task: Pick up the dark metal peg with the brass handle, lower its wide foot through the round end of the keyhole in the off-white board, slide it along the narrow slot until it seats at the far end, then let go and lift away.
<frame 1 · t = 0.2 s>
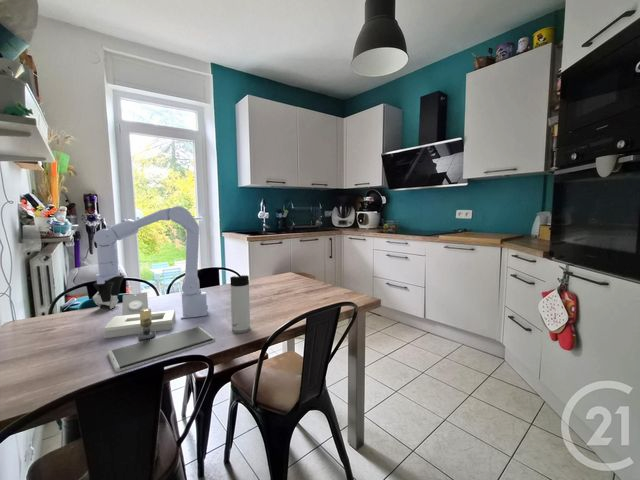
hand: (110, 298, 105), 10 cm above the table, tool pointing down, fingers open, 7 cm apart
peg: (147, 337, 95), on the table
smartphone: (164, 349, 89), on the table
travel mug: (241, 330, 102), on the table
light switch: (136, 316, 115), on the table
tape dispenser: (107, 308, 124), on the table
keyhole board: (143, 327, 104), on the table
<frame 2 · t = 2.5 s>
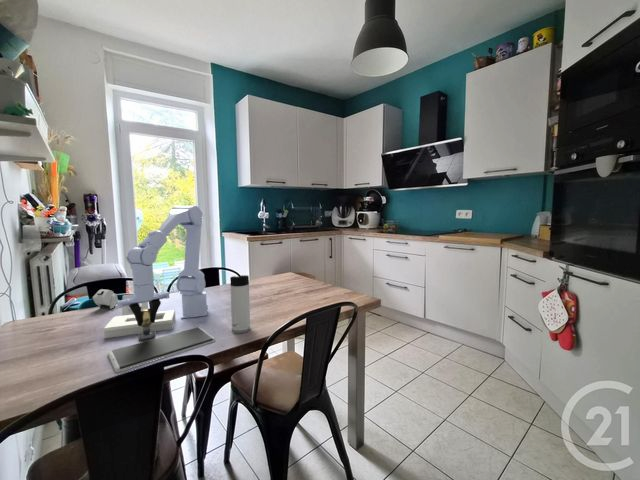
hand: (146, 323, 95), 5 cm above the table, tool pointing down, fingers closed on peg, 3 cm apart
peg: (147, 337, 95), on the table, touching gripper
everything else where it was.
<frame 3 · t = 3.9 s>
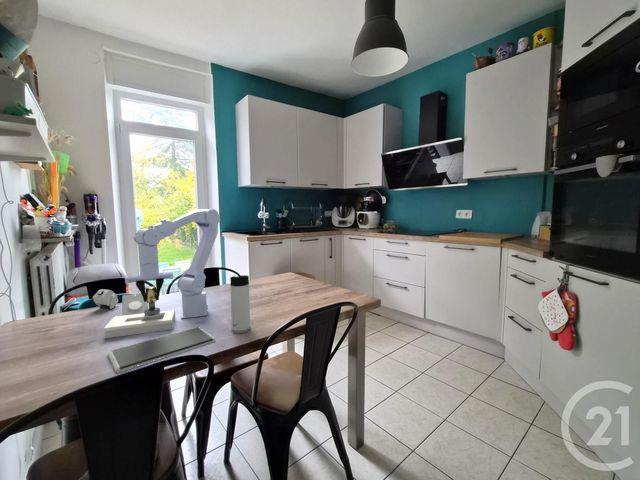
hand: (151, 300, 102), 10 cm above the table, tool pointing down, fingers closed on peg, 3 cm apart
peg: (152, 313, 103), point 5 cm above the table, touching gripper
everything else where it was.
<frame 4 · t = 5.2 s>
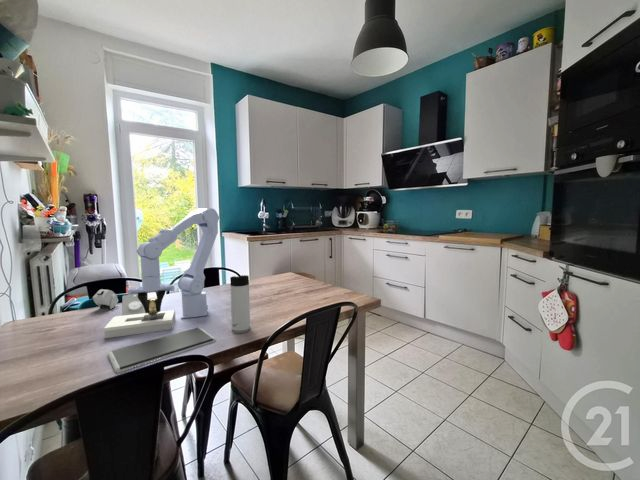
hand: (153, 311, 104), 5 cm above the table, tool pointing down, fingers closed on peg, 3 cm apart
peg: (153, 324, 105), point 1 cm above the table, touching gripper
everything else where it was.
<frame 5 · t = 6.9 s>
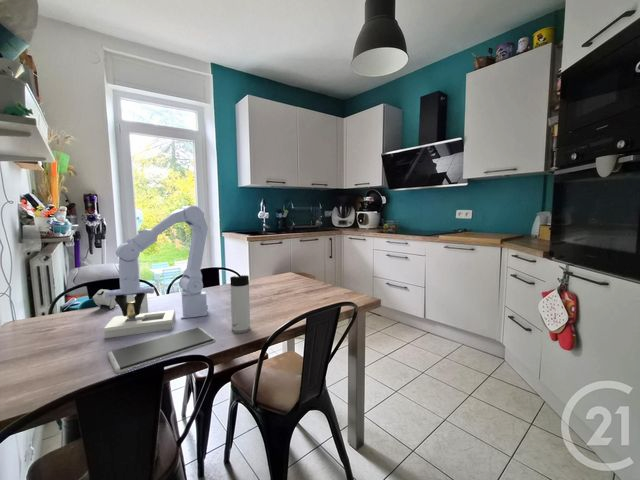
hand: (131, 314, 102), 5 cm above the table, tool pointing down, fingers closed on peg, 3 cm apart
peg: (132, 328, 102), resting in keyhole board, touching gripper
everything else where it was.
when the fingers open (5 cm above the table, at t = 8.2 s): peg stays where it is, resting in keyhole board.
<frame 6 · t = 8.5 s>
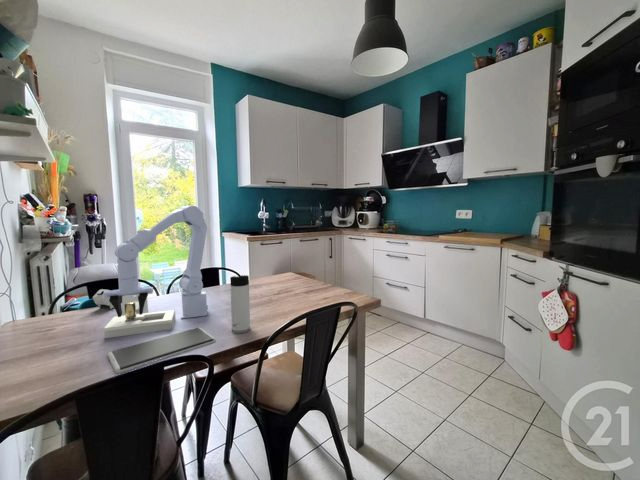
hand: (130, 314, 102), 5 cm above the table, tool pointing down, fingers open, 6 cm apart
peg: (131, 329, 102), resting in keyhole board
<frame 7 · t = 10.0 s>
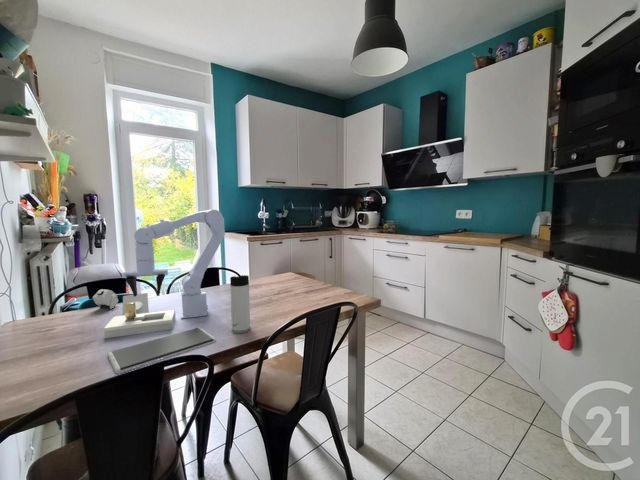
hand: (147, 294, 108), 10 cm above the table, tool pointing down, fingers open, 7 cm apart
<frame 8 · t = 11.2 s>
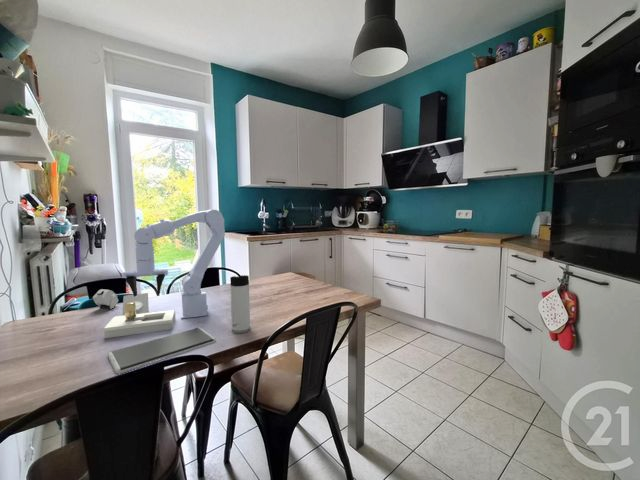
hand: (147, 294, 108), 10 cm above the table, tool pointing down, fingers open, 7 cm apart
at the end: peg 0.3 cm from the target spot on the keyhole board, point 0.0 cm above the keyhole board's base; peg tilted 0°; the gripper is holding nothing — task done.
